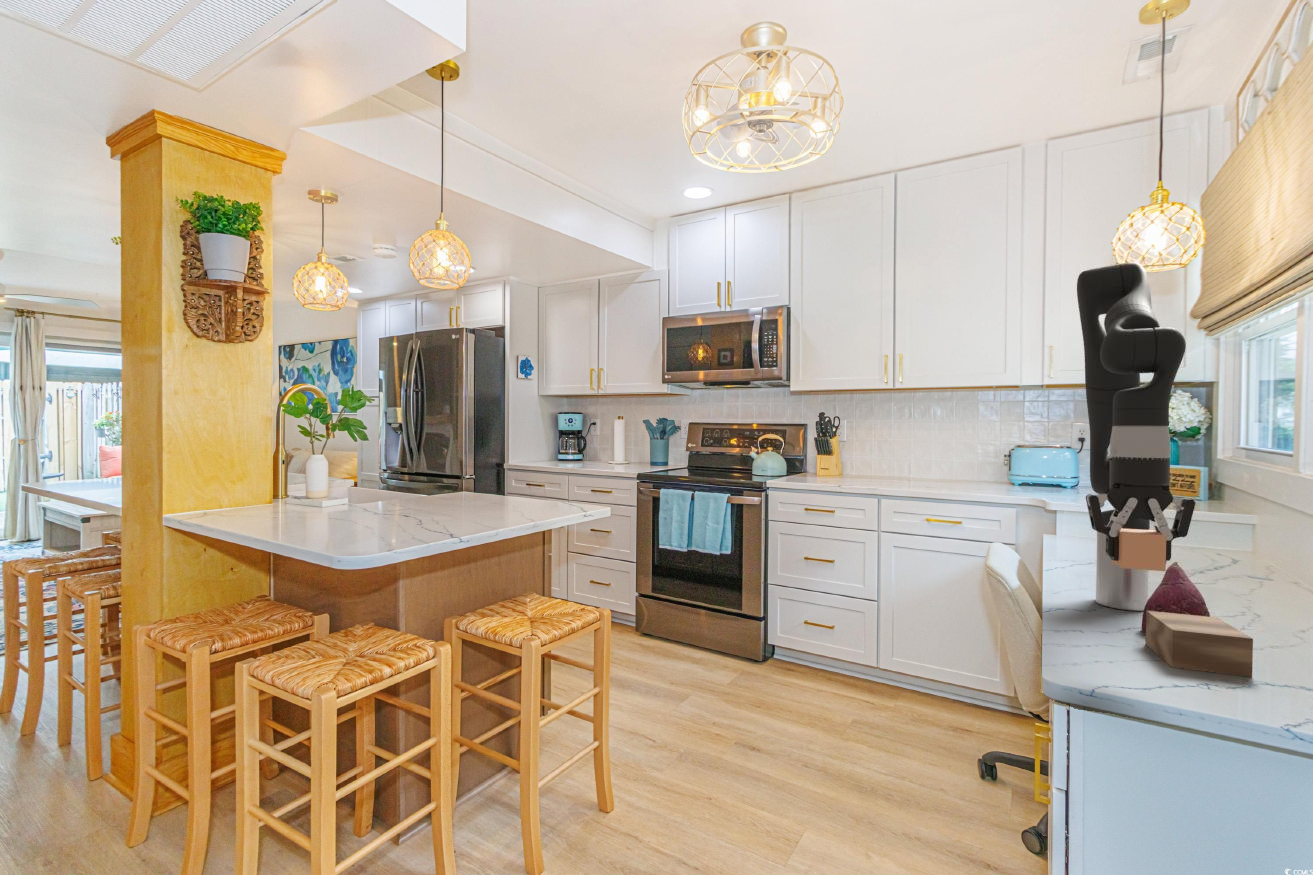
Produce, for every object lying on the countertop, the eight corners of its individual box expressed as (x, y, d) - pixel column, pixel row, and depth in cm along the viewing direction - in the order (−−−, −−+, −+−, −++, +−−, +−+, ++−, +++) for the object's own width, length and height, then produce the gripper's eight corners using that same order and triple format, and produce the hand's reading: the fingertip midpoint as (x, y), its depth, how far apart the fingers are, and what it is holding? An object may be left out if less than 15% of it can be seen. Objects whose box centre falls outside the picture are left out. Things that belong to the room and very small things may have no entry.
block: (1111, 561, 102) (1111, 527, 101) (1152, 564, 99) (1153, 530, 99) (1122, 567, 96) (1122, 532, 96) (1165, 571, 94) (1166, 535, 94)
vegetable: (1144, 641, 122) (1134, 564, 126) (1215, 646, 115) (1201, 564, 119) (1141, 641, 114) (1130, 558, 118) (1216, 646, 108) (1202, 559, 112)
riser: (1145, 643, 111) (1146, 610, 111) (1216, 652, 107) (1217, 617, 107) (1172, 667, 100) (1172, 629, 99) (1252, 677, 96) (1252, 638, 96)
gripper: (1186, 455, 99) (1184, 561, 99) (1079, 453, 104) (1077, 553, 104) (1207, 457, 92) (1204, 570, 92) (1091, 454, 97) (1089, 562, 97)
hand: (1137, 561), depth 98 cm, fingers closed on block, 5 cm apart
